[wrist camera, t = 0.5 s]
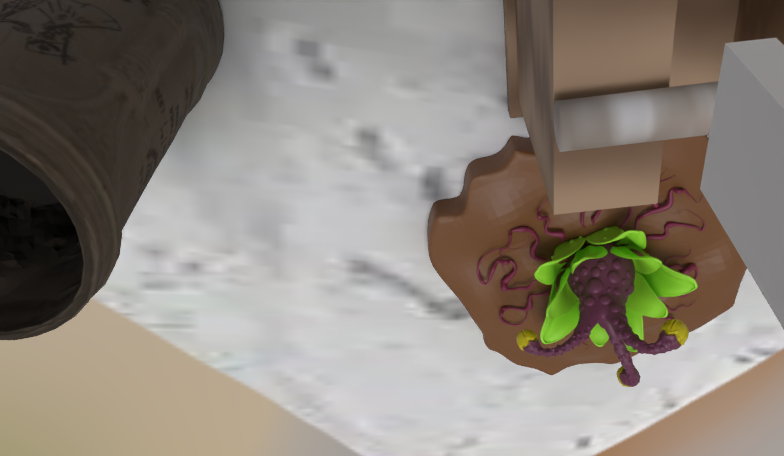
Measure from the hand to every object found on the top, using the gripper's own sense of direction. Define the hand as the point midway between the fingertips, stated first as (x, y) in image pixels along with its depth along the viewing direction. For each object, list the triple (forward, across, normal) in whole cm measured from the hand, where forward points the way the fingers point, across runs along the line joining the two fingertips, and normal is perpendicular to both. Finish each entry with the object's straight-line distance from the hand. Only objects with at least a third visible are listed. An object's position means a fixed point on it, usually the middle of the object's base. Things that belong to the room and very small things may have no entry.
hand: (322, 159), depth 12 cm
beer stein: (+28, -16, -6) cm, 33 cm away
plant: (+28, +12, -25) cm, 39 cm away
